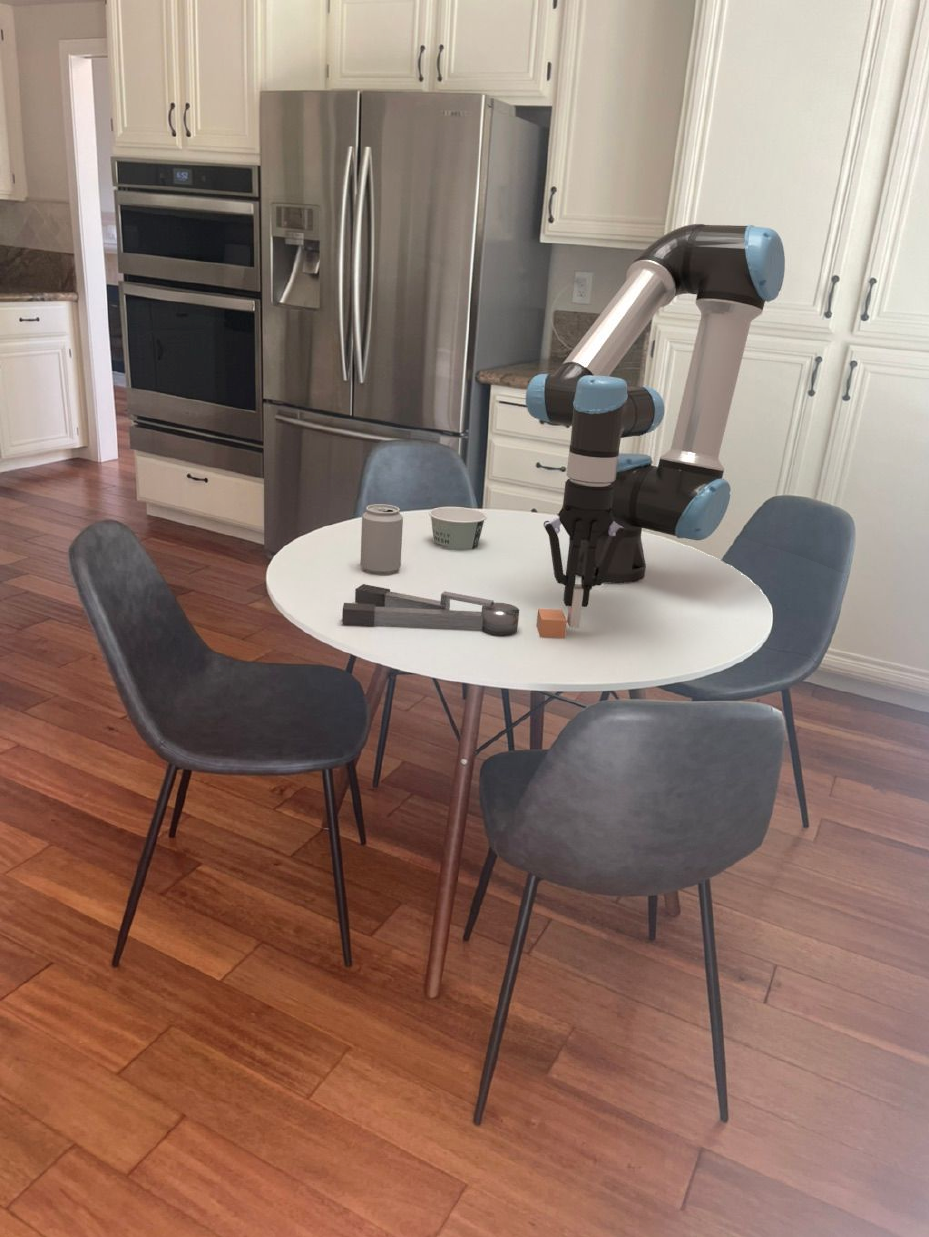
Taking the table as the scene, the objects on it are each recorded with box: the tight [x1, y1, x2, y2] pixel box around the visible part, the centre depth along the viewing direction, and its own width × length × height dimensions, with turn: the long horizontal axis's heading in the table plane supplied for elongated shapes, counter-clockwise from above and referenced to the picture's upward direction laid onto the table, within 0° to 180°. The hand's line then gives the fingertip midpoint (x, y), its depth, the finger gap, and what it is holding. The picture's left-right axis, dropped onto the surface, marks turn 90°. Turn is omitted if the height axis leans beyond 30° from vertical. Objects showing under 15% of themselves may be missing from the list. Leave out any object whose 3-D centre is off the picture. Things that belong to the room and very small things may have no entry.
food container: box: [428, 506, 488, 551], centre depth 195 cm, size 12×12×6 cm
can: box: [359, 503, 404, 576], centre depth 174 cm, size 8×8×12 cm
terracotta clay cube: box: [535, 608, 568, 639], centre depth 152 cm, size 4×5×3 cm
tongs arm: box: [354, 583, 495, 610], centre depth 155 cm, size 24×3×4 cm, turn 70°
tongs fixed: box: [341, 602, 520, 637], centre depth 150 cm, size 28×6×4 cm, turn 93°
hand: (572, 624), depth 152 cm, fingers closed
